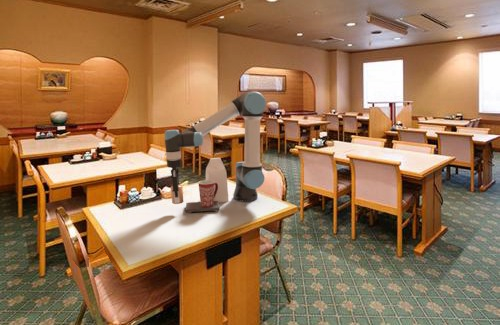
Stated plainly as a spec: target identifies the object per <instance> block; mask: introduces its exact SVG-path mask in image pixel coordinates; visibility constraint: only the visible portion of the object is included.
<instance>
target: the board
mask: <svg viewBox="0 0 500 325" xmlns="http://www.w3.org/2000/svg"><path fill="white" fill-rule="evenodd" d="M209 211H214V212H217V211H220V206H219V202H218V201H214V205H213V206H211V207H202V206H201V202H200V201H195V202H194V201H192V202H191V201H190V202H186V205H185V212H186V213H189V214H191V213H194V212H209Z"/></svg>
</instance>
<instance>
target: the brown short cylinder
mask: <svg viewBox="0 0 500 325" xmlns="http://www.w3.org/2000/svg"><path fill="white" fill-rule="evenodd" d="M172 190H173V185H171V186H170V192H171V203H172V204H174V205H179V204H182V203H184V191H183V185H182V184H179V185H178V190H179V199H180V203H175V202H174V192H172Z"/></svg>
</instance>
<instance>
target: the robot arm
mask: <svg viewBox="0 0 500 325" xmlns="http://www.w3.org/2000/svg"><path fill="white" fill-rule="evenodd" d="M266 105H267V101H266V98H265V96H264V95H263V94H262V93H260V92H258V91H254V90H253V91H246V92H243V93H241V94H240V95H238V97H236V98H234V99H233V100H231V101H230V102H229V104H227V105H226V106H225V107H223V108H221V109H220V110H217V111H216V112H215V113H213V114H211V115H210V116H208V117H206V118H205V119H203V120H201V121H199V122H198V123H196V124H195V125H193V126H191V127H190V128H188V129H185V130H183V131H182V133H181V132H180V130H179V129H168V130H165V131H164V145H165V153H164V155H165V157H166V166H167V168H171V170H170V174H171V179H172V186H173V190H172V192H174V202H175V203H180V199H179V190H178V185H180V179H179V177H180V170H179V167H181V166H182V165H183V164H182V159H181V158H182V151H181V148H191V147H195V148H196V147H201V146H202V145H203V142H204V140H203V137H204V136H205V135H207V134H209V133H210V132H212V131H213V130H215V129H217V128H218V127H220V126H221V125H223V124H225V123H226V122H228V121H230V120H232V119H233V118H235V117H236V116H237V117H240V116H242V118H243V119H244V161H237V162H236V163H235V188H234V191H233V194H232V196H233V199H234V200H235V201H238V202H252V201H255V200H257V199H258V191H257V189H259V188H260V187H262V186H263V185H264V182H265V180H266V179H265V174H264V172H263V164H262V163H261V160H260V156H261V154H260V153H261V152H260V151H261V143H260V142H261V119H262V118H264V111H265V109H266ZM180 204H181V203H180Z"/></svg>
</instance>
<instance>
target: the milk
mask: <svg viewBox="0 0 500 325" xmlns="http://www.w3.org/2000/svg"><path fill="white" fill-rule="evenodd" d="M227 174H228V173H227V169H226V167H225V165H224V163H223V161H222V159H221V157H210V159H209V161H208V164H207V165H206V168H205V180H212V181H214V182H215V183H217V184H218V190H217V193H216V195H215V197H214V201H218V203H226V202H229V190H228V175H227ZM214 191H215V185H214Z"/></svg>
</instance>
